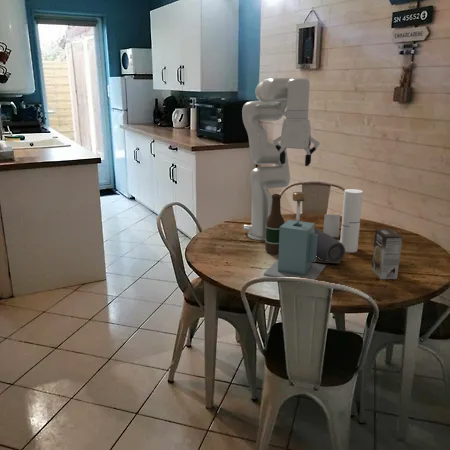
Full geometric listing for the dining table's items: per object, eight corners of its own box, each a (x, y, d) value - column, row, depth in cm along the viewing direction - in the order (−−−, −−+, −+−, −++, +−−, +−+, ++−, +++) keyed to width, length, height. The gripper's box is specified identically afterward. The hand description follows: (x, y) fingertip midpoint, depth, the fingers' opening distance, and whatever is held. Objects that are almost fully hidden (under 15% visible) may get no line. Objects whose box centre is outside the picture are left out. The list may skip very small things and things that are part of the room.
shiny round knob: (284, 238, 165) (286, 194, 160) (290, 232, 171) (292, 190, 166) (303, 241, 162) (306, 196, 157) (309, 235, 168) (312, 192, 163)
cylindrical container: (357, 252, 188) (363, 193, 181) (340, 251, 190) (344, 192, 182) (356, 247, 195) (362, 189, 188) (339, 245, 196) (344, 188, 189)
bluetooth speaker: (295, 248, 194) (296, 225, 191) (314, 245, 197) (316, 223, 194) (324, 267, 173) (326, 242, 170) (345, 264, 176) (347, 239, 173)
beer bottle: (271, 255, 185) (273, 197, 178) (261, 249, 191) (262, 193, 184) (287, 252, 188) (290, 195, 181) (276, 247, 195) (279, 191, 188)
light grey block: (338, 237, 207) (340, 216, 205) (323, 236, 209) (324, 215, 206) (338, 234, 211) (339, 213, 208) (323, 234, 212) (324, 213, 209)
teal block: (263, 274, 166) (265, 228, 161) (280, 258, 182) (281, 215, 177) (312, 284, 159) (315, 235, 154) (325, 266, 174) (328, 221, 169)
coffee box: (370, 269, 171) (374, 228, 167) (387, 269, 172) (391, 228, 167) (380, 279, 163) (385, 236, 158) (398, 279, 163) (403, 235, 158)
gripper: (270, 115, 161) (268, 164, 166) (318, 116, 154) (315, 168, 159) (277, 114, 168) (275, 161, 173) (324, 115, 161) (321, 164, 166)
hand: (294, 164), depth 166 cm, fingers open, 8 cm apart
